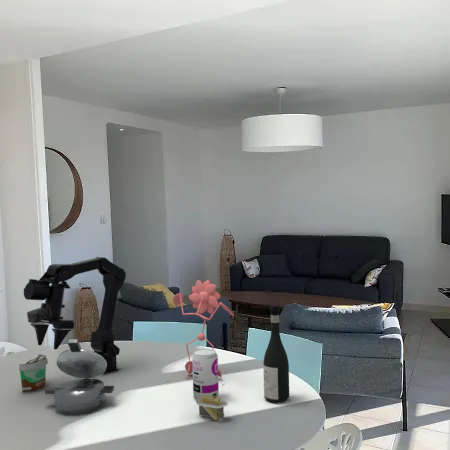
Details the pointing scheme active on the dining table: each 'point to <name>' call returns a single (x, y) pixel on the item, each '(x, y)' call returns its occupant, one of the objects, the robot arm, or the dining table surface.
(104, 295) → the robot arm
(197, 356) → the supplement can
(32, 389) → the food container
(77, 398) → the cooker pot
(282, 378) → the wine bottle
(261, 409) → the dining table surface
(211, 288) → the figurine
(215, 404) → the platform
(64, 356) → the cooker lid
